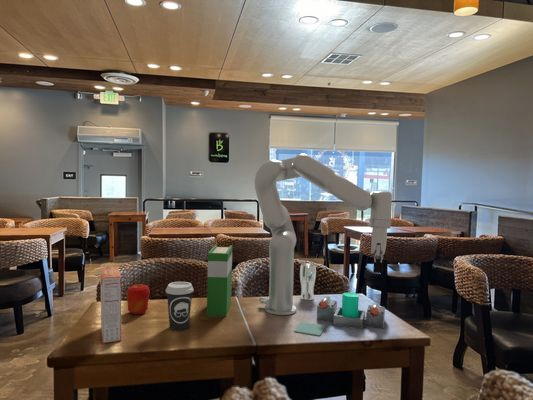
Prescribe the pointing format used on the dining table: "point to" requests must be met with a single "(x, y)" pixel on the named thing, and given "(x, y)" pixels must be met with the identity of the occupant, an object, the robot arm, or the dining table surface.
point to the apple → (138, 298)
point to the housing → (336, 316)
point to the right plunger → (375, 309)
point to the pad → (309, 328)
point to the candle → (350, 304)
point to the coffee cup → (179, 304)
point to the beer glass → (307, 280)
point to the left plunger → (324, 302)
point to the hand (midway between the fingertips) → (378, 270)
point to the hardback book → (219, 281)
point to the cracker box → (110, 304)
